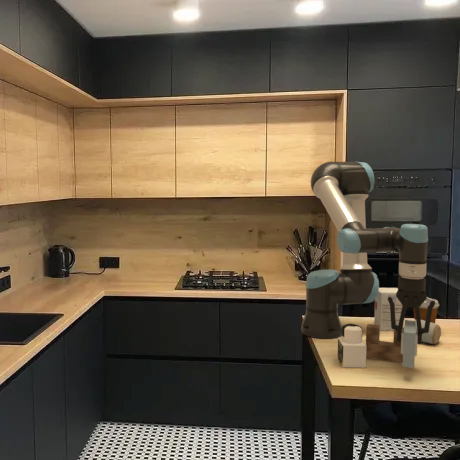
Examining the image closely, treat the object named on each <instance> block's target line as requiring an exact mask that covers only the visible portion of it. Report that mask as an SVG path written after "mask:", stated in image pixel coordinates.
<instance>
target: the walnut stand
mask: <svg viewBox="0 0 460 460" xmlns="http://www.w3.org/2000/svg"><path fill="white" fill-rule="evenodd" d="M402 330H404V326H403V327H402ZM380 333H381V332H380V325H375V324H374V323H367V324H366V327H365V344H366V359H371V360H380V361H388V362H396V363H402V364H403V354H401V342H398V341H397V331H396V330H395V329H394V331H393V341H386V340H380Z"/></svg>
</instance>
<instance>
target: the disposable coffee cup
mask: <svg viewBox="0 0 460 460" xmlns="http://www.w3.org/2000/svg"><path fill="white" fill-rule="evenodd" d="M429 298H430V297H429ZM430 299H432V298H430ZM433 299H434V300H435V305H434V307H433V308H432V314H431V320H430V322H431V323H435V324H436V319H437V313H438V308H439V307H440V303H439V301H438V300H437V299H435V298H433ZM427 307H428V306H427V304H426V301H424V302H423V303H422V305H421V306H420V307H419V310H420V318H421V320H424V321H425V320H426V313H427ZM412 310H413V316H414V317H413V318H414V319H413V321H415V320H416V315H415V308H412Z"/></svg>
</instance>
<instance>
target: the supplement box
mask: <svg viewBox="0 0 460 460" xmlns="http://www.w3.org/2000/svg"><path fill="white" fill-rule="evenodd" d="M397 291H398V287H379V290H378V294H377V296H376V298H375V299H374V320H373V321H374V322H373V324H375V325H380V331H384V332H389V331H392V332H394V329H392V328H391V313H390V304H389V301H388V296H389V295H391V296H392V295H395V294H396V293H397ZM401 310H402V304H401V303H400V301H399V300H398V298H396V302H395V319H396V325H398V324H399V320H400V315H401Z"/></svg>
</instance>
